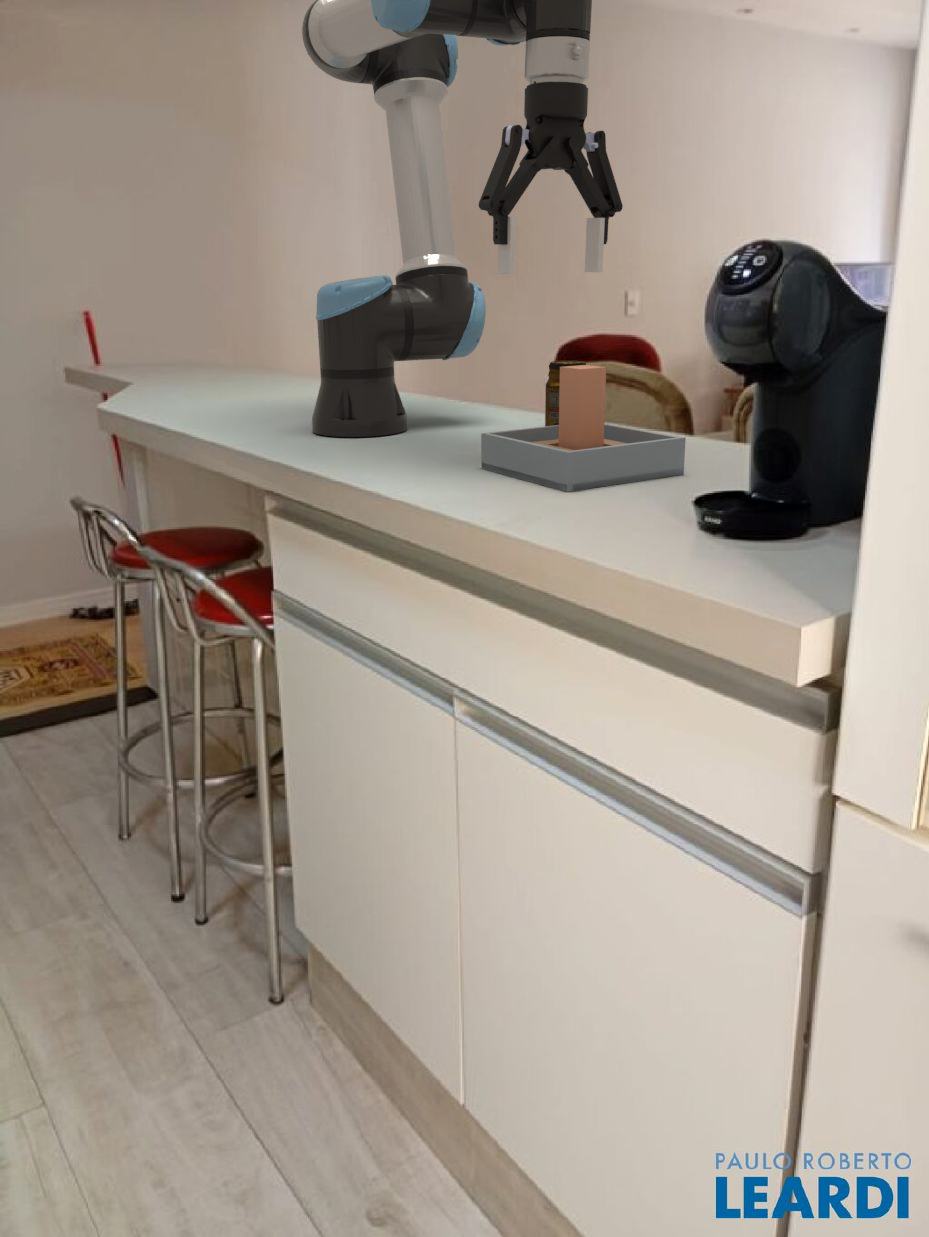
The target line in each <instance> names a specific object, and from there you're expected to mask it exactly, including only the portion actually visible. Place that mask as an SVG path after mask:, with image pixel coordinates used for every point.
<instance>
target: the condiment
mask: <svg viewBox="0 0 929 1237" xmlns="http://www.w3.org/2000/svg"><path fill="white" fill-rule="evenodd" d="M579 365H587V363H586V362H585V361H582V360H554V361H551V362H549V365H548V369H549V370H548V374H547V376H548V379H547V381H546V383H545V402H544V403H545V408H544V409H545V413H544V414H545V415H544V416H545V418H544V426H553V425H559V388H560V367H565V366H579Z"/></svg>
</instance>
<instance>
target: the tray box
mask: <svg viewBox="0 0 929 1237" xmlns="http://www.w3.org/2000/svg"><path fill="white" fill-rule="evenodd" d="M480 436H481V438H480V439H481V441H480V443H481V444H480V445H481V446H480V447H481V448H480V449H481V452H480V453H481V455H480V458H481V469H482V470H486V471H489V472H494V473H497V474H500V475H504V476H508V477H511V478H515V479H519V480H522V481H527V482H530V483H533V484H537V485H541V486H544V487H548V488H552V489H555V490H558V491H562V492H566V493H571V492H576V491H584V490H589V489H596V488H602V487H609V486H614V485H622V484H629V483H636V482H641V481H649V480H654V479H655V480H656V479H661V478H669V477H674V476H682V475H684V472H685V458H686V457H685V455H686V442H687V441H686V437H685V436H684V437H683V436H679V435H673V434H667V433H666V434H665V433H661V432H654V431H650V430H644V429H640V428H638V429H637V428H633V427H626V426H623V425H622V426H621V425H615V424H609V423H604V447H597V448H589V449H581V450H571V449H566V448H562V447H558V445H559V425H553V426H545V425H544V426H536V427H526V428H518V429H509V430H507V429H506V430H500V431H490V432H481V435H480Z"/></svg>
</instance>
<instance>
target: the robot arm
mask: <svg viewBox="0 0 929 1237" xmlns="http://www.w3.org/2000/svg"><path fill="white" fill-rule="evenodd" d="M592 4H593V0H315V1H314V2H312V3H311V4H310V6H309V7H308V9H307V10H306V13H304V17H303V21H302V25H301V26H302V28H301V36H302V42H303V45H304V48H305V51H306V52H307V53H306V54H307V55H308V56H309V58H310V59H311V60H312V62H313V63H314V65H316V66H317V68H319V69H320V70H321V71H322V72H324V73H325V74H326V75H328V76H331V77H332V78H334V79H337V80H339V81H343V82H346V83H347V82H348V83H354V84H364V85H372V89H373V98H374V102H375V103H376V104H377V106H379V108H381V109H382V110H384V111H385V117H386V126H387V128H386V129H387V135H388V144H389V153H390V160H391V170H392V179H393V186H394V196H395V205H396V214H397V222H398V232H399V237H400V238H399V240H400V247H401V256H402V266H401V268H400V269H399V270H398V272H396V274H395V276H394V278H395V284H394V283H393V281H392V278H391V277H390V276H389V275H375V276H368V277H357V278H352V279H346V280H340V281H335V282H330V283H327V284H324V285H322V286H320V288H319V289H318V291H317V293H316V314H315V320H316V322H317V335H318V336H317V337H318V353H319V366H320V367H319V369H320V385H319V389H318V393H317V397H316V400H315V405H314V410H313V414H312V419H311V421H312V422H311V424H312V425H311V426H312V433H313V434H315V435H321V436H325V437H327V436H328V437H341V438H342V437H343V438H350V437H351V438H357V437H358V438H363V437H366V438H367V437H375V436H376V437H379V436H387V435H388V436H390V435H394V434H399V433H403V432H405V431H407V430H408V419H407V418H408V417H407V413H406V410H405V407H404V405H403V401H402V398H401V395H400V393H399V390H398V386H397V384H396V379H395V378H396V377H395V362H406V361H407V362H408V361H409V362H410V361H425V360H426V361H427V360H428V361H429V360H442V361H447V360H450V359H456V358H457V359H459V358H465V357H467V356H469V355H471V354H472V353H473V352H474V351H475V350H476V349H477V348H478V345H479V343H480V341H481V338H482V336H483V332H484V328H485V323H486V312H487V311H486V309H487V307H486V300H485V299H486V298H485V295H484V292H483V290H482V287H481V286H480V285H479V284H477V283H475V282H472V281H469V274H468V267H467V266H465V265H464V264H463V263H462V262H460V261H459V260H458V258H457V253H456V252H457V251H456V243H455V241H456V240H455V235H454V226H453V223H454V222H453V216H452V215H453V214H452V207H451V206H452V205H451V196H450V187H449V180H448V170H447V162H446V161H447V160H446V151H445V150H446V149H445V144H444V142H445V141H444V133H443V126H442V125H443V124H442V117H441V116H442V115H441V103H442V102H443V101H444V99H445V98H446V97H447V95H448V91H449V90H448V88H449V87H450V86H451V85H452V84H453V82H454V81H455V79H456V75H457V72H458V64H457V60H458V59H459V47H458V39H457V37H465V38H478V39H486V40H487V41H488V42H489V43H491V44H493V45H495V46H502V47H503V46H504V47H506V46H509V45H510V46H516V45H520V44H521V43H524V42H525V51H524V52H525V57H524V59H525V60H524V79H525V80H526V81H527V82H528V83H529V84H528V85H526V88H524V104H523V105H524V106H523V108H524V109H523V112H524V113H523V115H524V118H525V121H526V124H525V128H523V127H522V125H520V124H515V125H508V126H504V127H503V129H502V133H501V134H502V135H501V144H500V145H501V146H500V148H499V152H498V154H497V156H496V159H495V161H494V164H493V166H492V167H491V171H490V174H489V176H488V179H487V181H486V184H485V186H484V189H483V190H482V194H481V196H480V199H479V202H478V208H479V209H480V210H481V211H485V212H487V215H488V216H490V217H492V220H493V224H492V226H493V227H492V228H493V229H492V230H493V232H492V241H493V244H494V245H497V274H500V275H516V244H517V243H516V241H517V239H516V238H517V237H516V236H517V216H509V215H510V214H511V212H512V211H513V210H514V208H515V207H516V205H517V204H518V202H519V201H520V199H521V197H522V196H523V195H524V193H525V191H526V190H527V188H528V187H529V186H530V184H531V183H532V181H533V180H534V178H535V177H536V176H537V174H538V172H540V171H541V170H554V171H564V172H565V173H566V174H567V175H569V177H570V178H571V180H572V182H573V184H574V185H575V187H576V190H578V192H579V194H580V196H581V198H582V199H583V201H584V203H585V205H586V206H587V208H588V209H589V212H590V213H591V215H592V216H593V217H586V226H585V231H586V232H585V251H584V252H585V253H584V255H585V256H584V273H603V264H604V248H605V247H604V245H607V243H608V240H609V239H608V235H609V219H610V218H613V217H614V216H615V215H616V214H617V213H620V212H622V210H623V208H624V207H623V203H622V199H621V195H620V192H619V189H618V185H617V183H616V179H615V176H614V173H613V169H612V166H611V162H610V159H609V156H608V152H607V147H606V146H607V145H606V144H607V142H606V140H607V139H606V133H605V131H604V130H595V131H589V132H586V131H585V125H584V124H585V120H586V119H587V116H588V104H589V102H588V101H589V87H587V84H585V83H584V82H585V81H587V80H588V79H589V76H590V75H589V74H590V73H589V72H590V71H589V70H590V49H591V48H590V47H591V46H590V45H591V44H590V43H591V41H590V40H591V25H592V9H593V8H592V7H593V5H592ZM524 144H525V147H526V149H527V152H525V154H524V156H523V158H522V159H521V160H520V161H519V167H518V168H517V169H516V171H515V172H514V174H513V175H512V177H511V178H510V176H511V174H512V172H513V169H514V167H515V164H516V162H517V159H518V157H519V155H520V152H521V147H523V145H524ZM583 149H584V150H585V152H586V157H587V158H586V157H585V155H584V153H583ZM589 168H590V169H589ZM590 170H591V171H590ZM509 179H510V180H509Z"/></svg>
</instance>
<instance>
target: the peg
mask: <svg viewBox="0 0 929 1237" xmlns="http://www.w3.org/2000/svg"><path fill="white" fill-rule="evenodd" d="M606 384H607V367H606V366H599V365H589V364H586V365H579V366H565V367H560V388H559V445H558V447H562V448H566V449H571V450H581V449H589V448H597V447H604V423H605V422H606V421H605V420H606V419H605V416H606V391H607V390H606V389H607V388H606V386H607V385H606ZM605 424H606V423H605Z"/></svg>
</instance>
